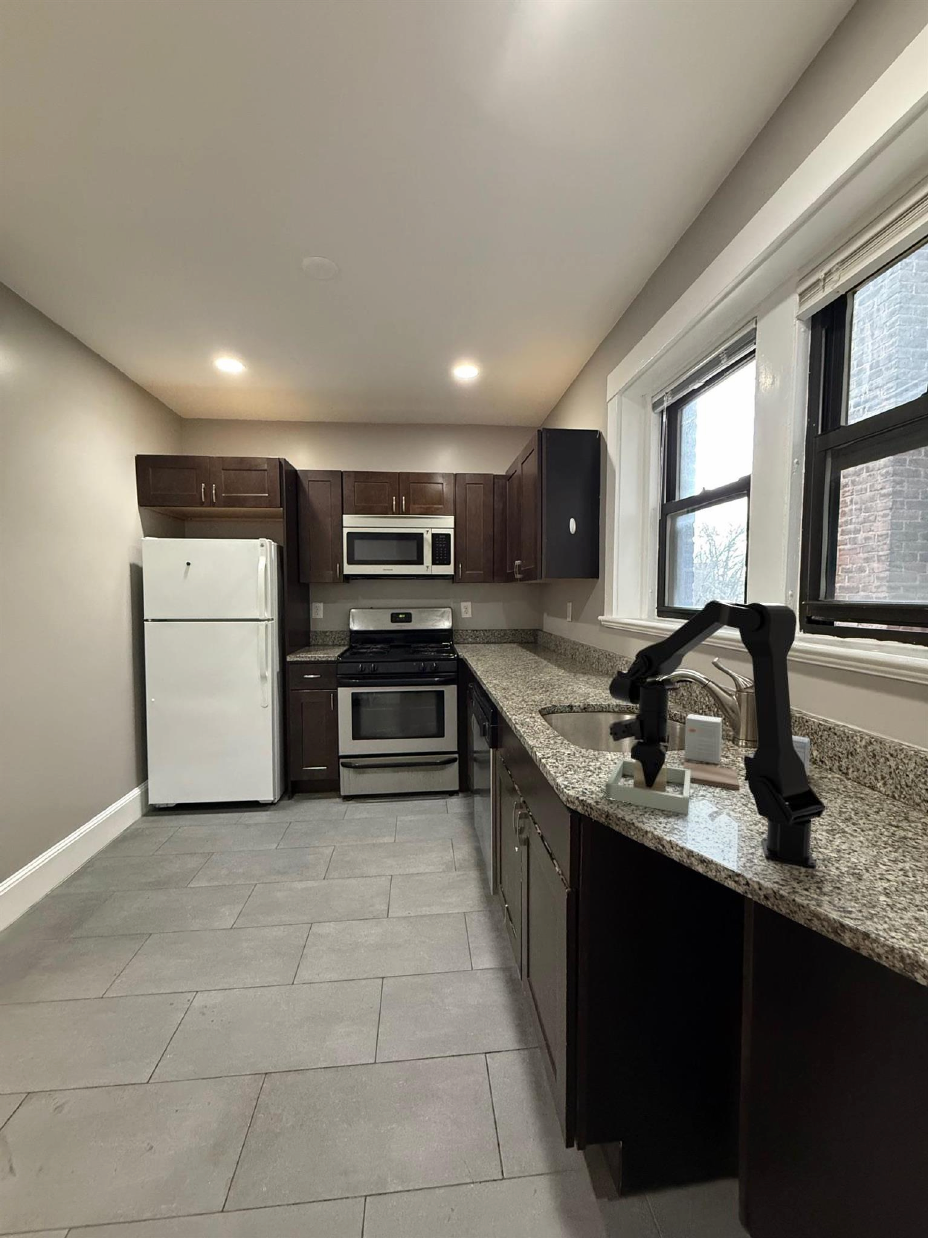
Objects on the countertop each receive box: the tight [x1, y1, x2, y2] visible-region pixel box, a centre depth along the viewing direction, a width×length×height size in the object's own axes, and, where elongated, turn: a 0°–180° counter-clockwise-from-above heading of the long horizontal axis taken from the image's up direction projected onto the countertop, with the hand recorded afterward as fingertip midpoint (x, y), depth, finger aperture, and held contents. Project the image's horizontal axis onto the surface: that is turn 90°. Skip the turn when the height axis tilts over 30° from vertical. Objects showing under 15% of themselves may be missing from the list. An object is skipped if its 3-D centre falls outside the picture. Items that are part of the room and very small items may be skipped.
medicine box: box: [792, 735, 811, 777], centre depth 118 cm, size 8×4×9 cm, turn 47°
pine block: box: [633, 760, 668, 793], centre depth 105 cm, size 4×6×6 cm
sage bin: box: [605, 758, 691, 815], centre depth 105 cm, size 18×15×3 cm
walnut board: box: [683, 761, 740, 790], centre depth 114 cm, size 11×11×1 cm
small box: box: [684, 713, 723, 765], centre depth 127 cm, size 8×6×10 cm
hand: (650, 783), depth 105 cm, fingers closed on pine block, 4 cm apart
